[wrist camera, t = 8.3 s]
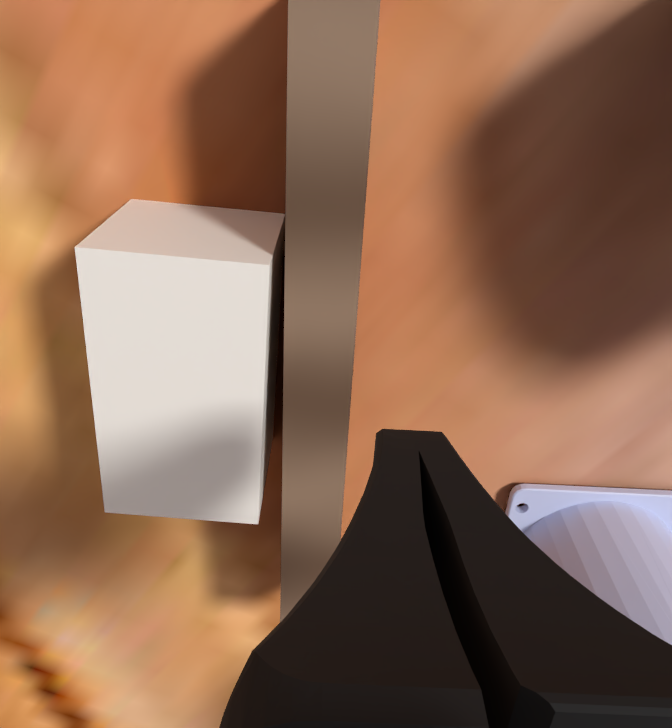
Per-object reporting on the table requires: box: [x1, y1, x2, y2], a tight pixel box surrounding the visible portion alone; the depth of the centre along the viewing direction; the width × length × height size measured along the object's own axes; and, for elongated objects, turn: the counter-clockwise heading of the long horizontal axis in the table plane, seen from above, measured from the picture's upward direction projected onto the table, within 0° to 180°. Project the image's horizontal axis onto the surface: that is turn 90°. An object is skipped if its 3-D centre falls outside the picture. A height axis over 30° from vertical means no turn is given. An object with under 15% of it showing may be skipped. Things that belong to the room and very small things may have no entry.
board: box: [280, 0, 380, 622], centre depth 21 cm, size 22×2×4 cm, turn 177°
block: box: [75, 199, 285, 524], centre depth 20 cm, size 9×5×5 cm, turn 175°
